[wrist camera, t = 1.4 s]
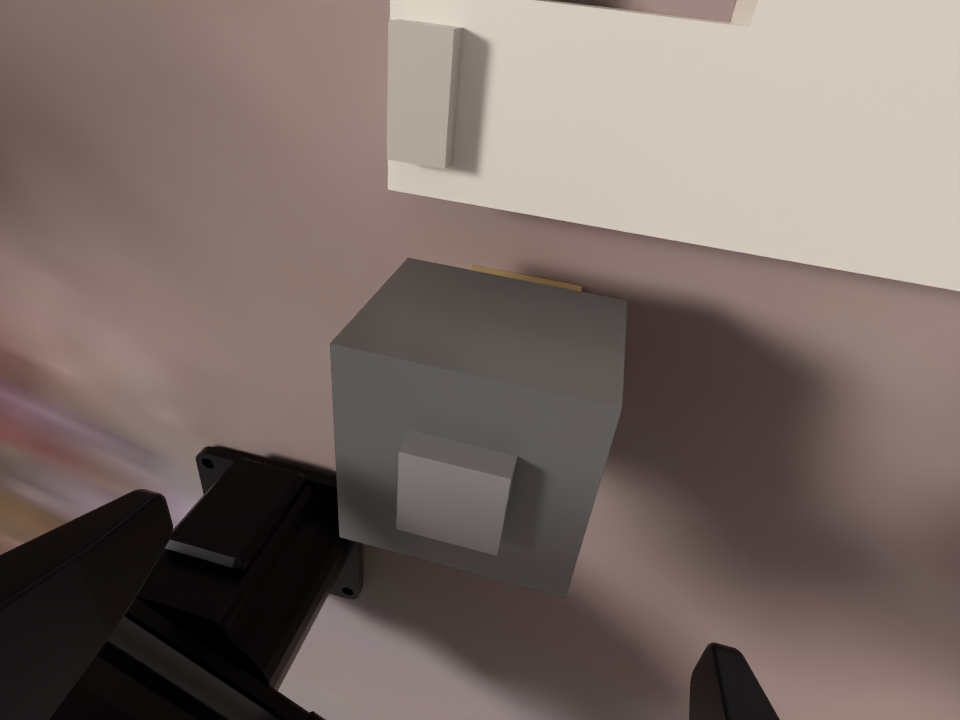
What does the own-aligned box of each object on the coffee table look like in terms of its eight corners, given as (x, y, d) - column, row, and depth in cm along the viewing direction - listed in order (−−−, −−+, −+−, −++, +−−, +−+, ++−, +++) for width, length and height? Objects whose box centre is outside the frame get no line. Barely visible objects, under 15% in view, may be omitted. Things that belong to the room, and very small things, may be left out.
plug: (588, 413, 17) (562, 624, 11) (430, 376, 18) (327, 559, 12) (629, 257, 15) (621, 431, 9) (439, 223, 15) (313, 361, 9)
